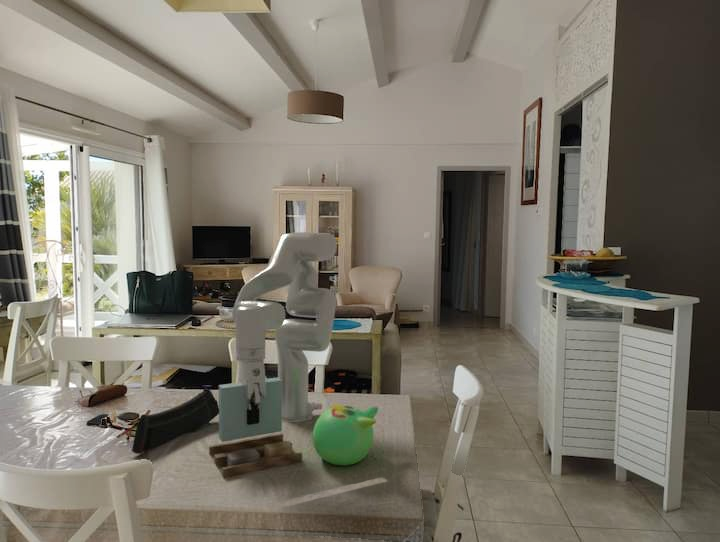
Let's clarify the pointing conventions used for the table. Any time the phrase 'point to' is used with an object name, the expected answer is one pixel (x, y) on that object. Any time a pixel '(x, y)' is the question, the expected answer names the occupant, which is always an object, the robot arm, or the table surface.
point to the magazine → (174, 422)
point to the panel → (236, 411)
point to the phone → (97, 420)
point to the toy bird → (344, 434)
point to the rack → (220, 460)
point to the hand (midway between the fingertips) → (250, 420)
